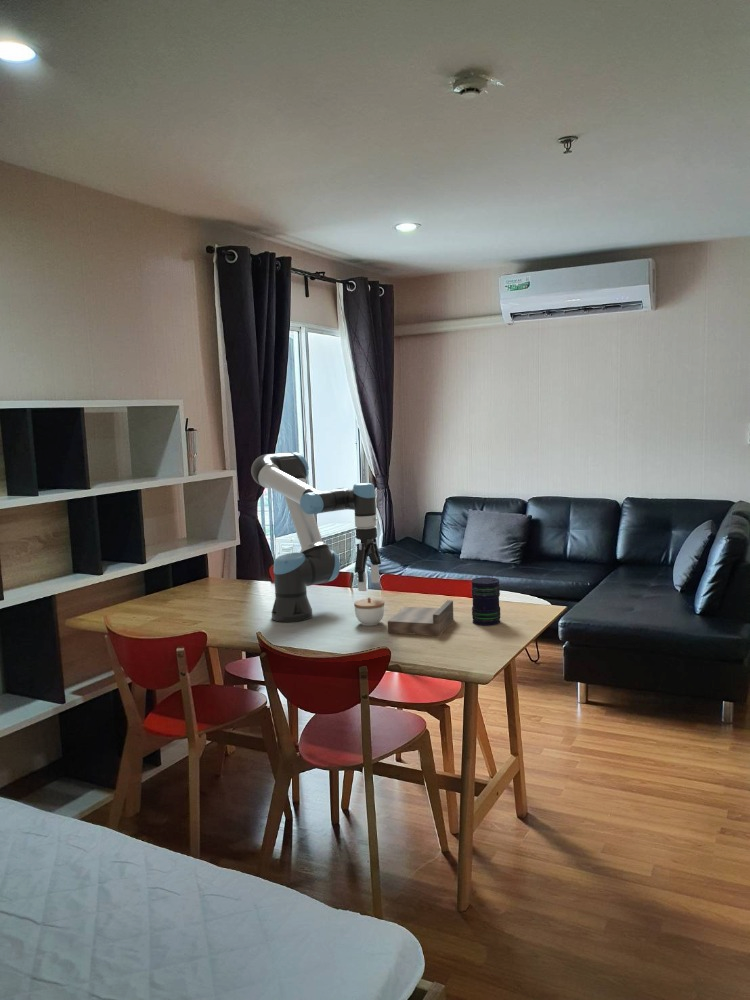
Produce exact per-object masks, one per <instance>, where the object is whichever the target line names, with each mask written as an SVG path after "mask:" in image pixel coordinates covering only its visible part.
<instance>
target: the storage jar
mask: <svg viewBox="0 0 750 1000" xmlns="http://www.w3.org/2000/svg"><path fill="white" fill-rule="evenodd" d="M470 582H471V584H470V585H471V597H472V607H471V616H472V624H473V625H476V626H480V627H481V626H482V627H492V626H493V627H494V626H496V625H500V624H501V619H500V618H501V606H500V595H501V589H500V588H501V587H500V579H499V578H495V577H488V576H487V577H476V578H472V579H471V581H470Z"/></svg>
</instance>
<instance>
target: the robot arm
mask: <svg viewBox="0 0 750 1000" xmlns="http://www.w3.org/2000/svg"><path fill="white" fill-rule="evenodd" d="M309 470H310V469H309V464H308V462H307V460H306V458H305V456H303V455H302V454H301V453H299V452H293V451H292V452H291V451H287V452H281V453H279V452H278V453H266V454H262V455H260V456H258V457H257V458H255V460H254V461H253V463H252V464H251V468H250V472H251V477H252V479H253V481H254V482H255V483H257V484H258V485H259V486H260V487H263V488H265V489H271V490H273V491H275V492H277V493H279V494H281V495H283V496H284V498H285V502H286V505H287V508H288V511H289V514H290V517H291V520H292V523H293V526H294V529H295V532H296V535H297V539H298V541H299V545H300V547H301V550H300V551H299V552H291V553H290V552H289V553H285V554H282V555H280V556H277V557H276V558H275V559H274V561H273V570H272V571H273V576H274V577H273V578H274V595H275V596H274V597H275V598H274V602H273V606H272V610H271V619H272V620H273V621H275V622H278V623H279V622H280V623H281V622H282V623H292V622H301V621H307V620H309V619H311V618H312V617H313V608H312V606H311V602H310V601H309V598H308V594H307V592H308V590H307V587H311V586H314V585H315V586H316V585H319V584H327V583H329V582H332V581H334V580H335V579H337V577H338V576H339V574H340V571H341V561H340V557H339V555H338V553H337V552H336V551H334V550H332V549H331V550H330V547H329V544H328V543H325V542H324V541H323V538H322V535H321V532H320V529H319V526H318V523H317V520H316V517H315V515H318V514H323V513H330V512H331V513H332V512H338V511H344V510H345V511H346V510H352V511H353V510H354V527H355V539H356V540H360V542H359V543H357V544H356V554H355V555H356V556H355V564H354V565H355V566H354V573H356V574H357V587H358V592H367V590H368V589H367V573H366V572H365V571H366V565H367V560H368V558H369V560H370V562H371V563H370V564H371V565H370V577H371V584H379V583H380V571H379V570H380V569H379V565H381V564H382V561H381V560H382V559H381V556H380V552H379V548H378V547H379V546H378V541H377V538H378V529H377V527H376V526H377V521H378V518H377V507H376V505H377V504H376V503H377V502H376V492H375V486H374V484H373V483H370V482H364V483H355V484H353V486H352V487H353V488H347V487H341V488H340V487H339V488H335V489H331V490H319V489H316V488H314V487H312V486H310V485H309V484H307V478H308V476H309Z"/></svg>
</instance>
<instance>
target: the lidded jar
mask: <svg viewBox="0 0 750 1000" xmlns="http://www.w3.org/2000/svg"><path fill="white" fill-rule="evenodd" d="M354 612H355V613H354V614H355V617H356V619H357V620H358V622H360V624H361V625H362V626H366V627H369V626H370V627H371V626H372V627H373V626H377V625H379V624H380V622H381V621H382V620H383V617H384V616H385V615H384V614H385V601H384V600H383V599H379V598H371V597H367V598H364V599H359V600H356V601H354Z"/></svg>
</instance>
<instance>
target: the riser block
mask: <svg viewBox="0 0 750 1000" xmlns="http://www.w3.org/2000/svg"><path fill="white" fill-rule="evenodd" d="M454 620H455V619H454V600H446V601H445V602H444V603H443V604H442V605H441V606H440V607H438V608H437V607H423V606H421V607H417V606H404V607H403V608H401V609H400V610H399V611H398V612H397V613H396V614H395V615H393V616H391V618H390V619H388V620H387V633H388V632H389V633H391V634H403V633H415V634H414V635H421V634H427V635H426V636H439V635H440V636H441V635H442V633H444V631H445V630H446V629H447V628H448V627H449V625H450V624H451V623H453V622H454ZM428 634H429V635H428Z"/></svg>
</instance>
